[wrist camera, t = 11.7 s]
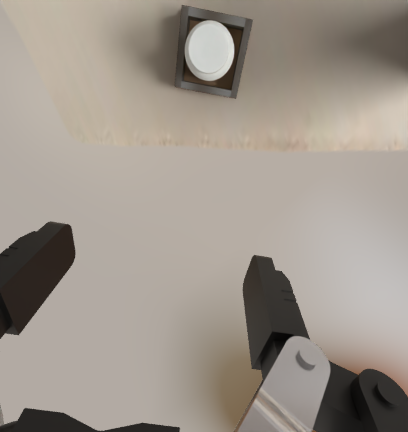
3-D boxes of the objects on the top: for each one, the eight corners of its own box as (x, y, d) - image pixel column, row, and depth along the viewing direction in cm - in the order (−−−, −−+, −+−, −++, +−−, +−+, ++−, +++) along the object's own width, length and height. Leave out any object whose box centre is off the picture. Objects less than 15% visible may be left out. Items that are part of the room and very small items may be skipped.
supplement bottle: (233, 75, 32) (239, 76, 24) (194, 83, 32) (187, 87, 24) (228, 25, 29) (232, 7, 21) (186, 36, 30) (174, 21, 22)
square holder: (251, 23, 29) (255, 17, 27) (235, 98, 34) (237, 100, 31) (183, 9, 29) (180, 2, 26) (176, 87, 34) (173, 88, 31)
